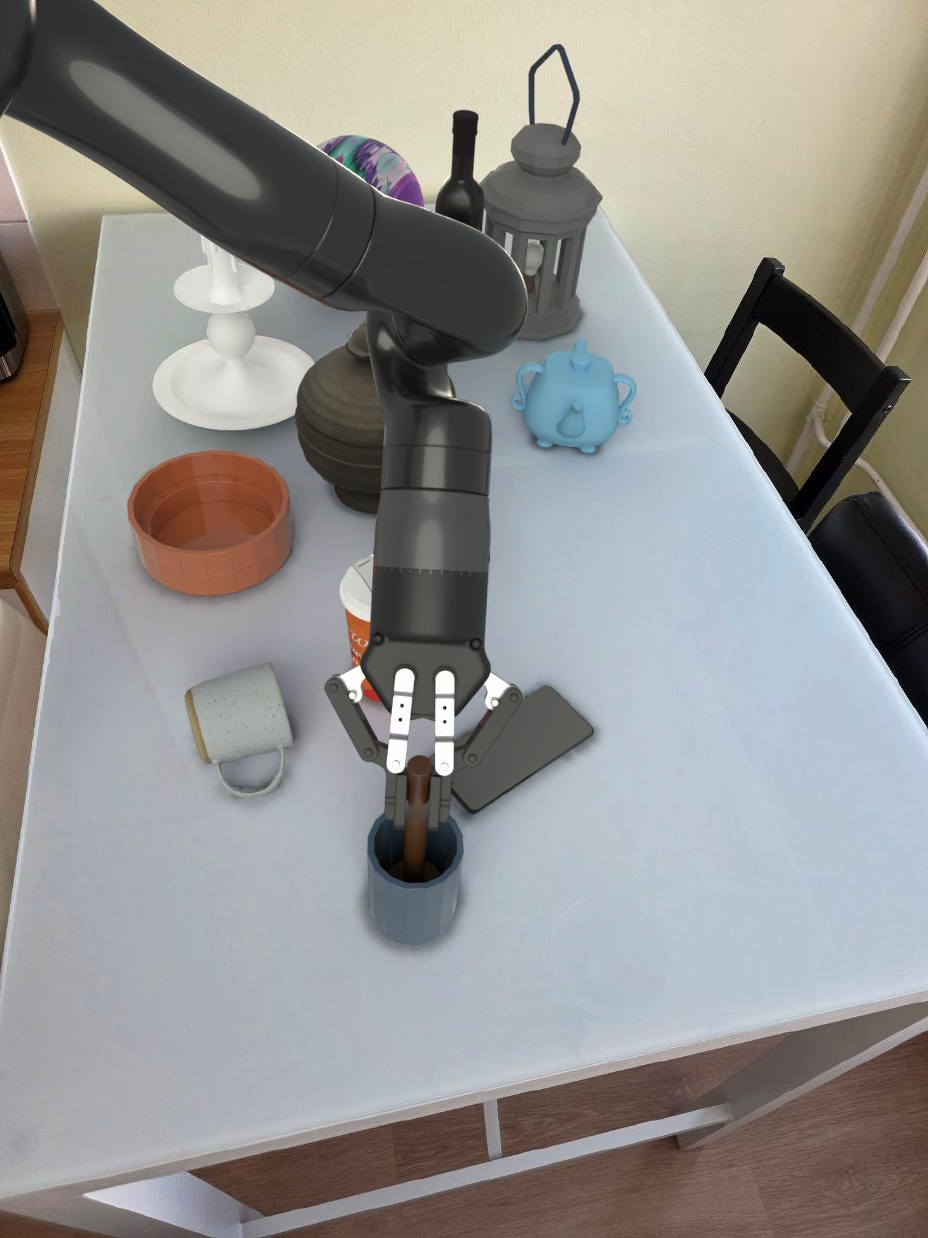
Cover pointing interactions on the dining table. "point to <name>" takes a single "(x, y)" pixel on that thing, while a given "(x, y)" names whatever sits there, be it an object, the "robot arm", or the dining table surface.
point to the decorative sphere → (376, 166)
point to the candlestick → (229, 353)
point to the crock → (413, 906)
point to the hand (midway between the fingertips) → (416, 826)
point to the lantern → (544, 213)
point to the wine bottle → (462, 175)
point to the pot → (344, 423)
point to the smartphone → (520, 749)
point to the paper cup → (359, 612)
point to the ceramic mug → (240, 721)
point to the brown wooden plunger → (416, 825)
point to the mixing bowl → (211, 522)
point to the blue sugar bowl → (573, 399)
